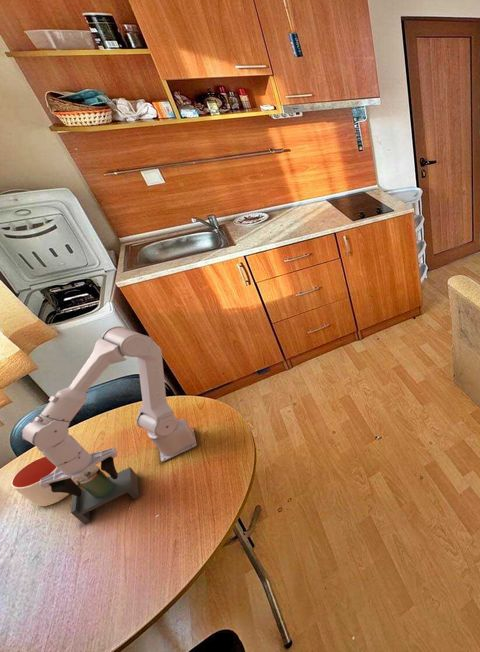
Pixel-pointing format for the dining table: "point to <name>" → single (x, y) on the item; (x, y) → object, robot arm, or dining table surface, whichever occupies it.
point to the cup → (37, 483)
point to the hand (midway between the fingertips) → (98, 484)
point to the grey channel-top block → (87, 502)
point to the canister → (95, 482)
